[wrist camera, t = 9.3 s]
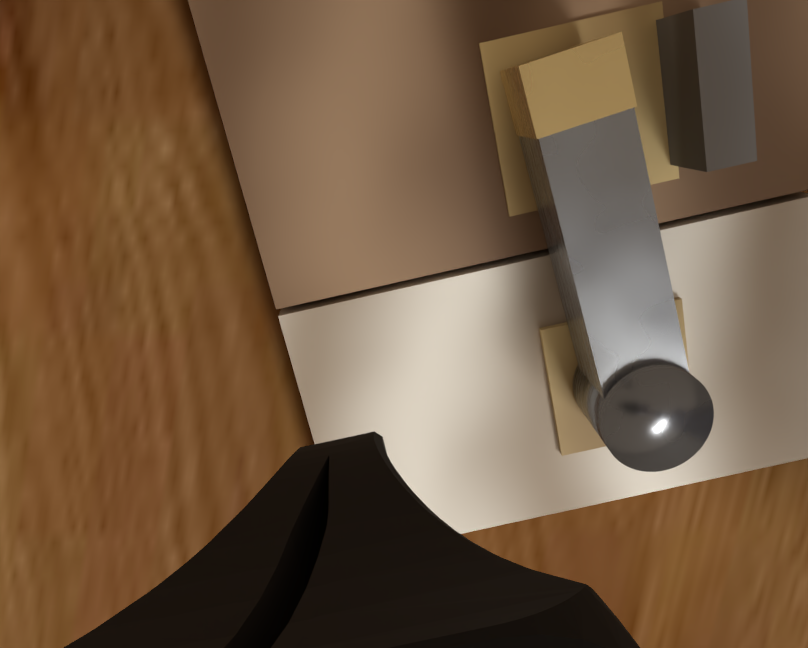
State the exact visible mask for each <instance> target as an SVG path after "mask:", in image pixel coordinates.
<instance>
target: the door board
mask: <svg viewBox="0 0 808 648" xmlns="http://www.w3.org/2000/svg"><path fill="white" fill-rule="evenodd" d="M188 3H189V6H190V10H191V13H192V17H193V20H194V24H195V27H196V31H197V34H198V38H199V41H200V45H201V48H202V52H203V55H204V59H205V62H206V66H207V69H208V73H209V76H210V80H211V83H212V87H213V90H214V94H215V97H216V101H217V104H218V108H219V111H220V115H221V118H222V122H223V125H224V129H225V132H226V136H227V139H228V143H229V146H230V150H231V153H232V157H233V160H234V164H235V167H236V171H237V174H238V178H239V181H240V185H241V188H242V192H243V195H244V199H245V202H246V206H247V209H248V213H249V216H250V220H251V223H252V227H253V230H254V234H255V237H256V241H257V244H258V248H259V251H260V255H261V258H262V262H263V265H264V269H265V272H266V276H267V279H268V283H269V286H270V290H271V293H272V297H273V300H274V304H275V307H276V309H280V308H281V311H280V313H279V315H278V318H279V321H280V325H281V328H282V332H283V335H284V339H285V342H286V346H287V349H288V353H289V356H290V360H291V363H292V367H293V370H294V374H295V377H296V381H297V384H298V388H299V391H300V395H301V398H302V402H303V405H304V409H305V412H306V416H307V419H308V423H309V426H310V430H311V433H312V437H313V440H314V444H319V443H323V442H328V441H332V440H337V439H342V438H346V437H351V436H355V435H360V434H365V433H369V432H374V431H375V432H376V433H378V434H379V435H381V436H382V437H383V440H384V444H385V448H386V452H387V456H388V457H389V459H390V461H391V463H392V464H393V466H394V467H395V469H396V470H397V472H398V473H399V474H400V476H401V477H402V478H403V480H404V481H405V482H406V484H407V485H408V486H409V487H410V489H411V490H412V491H413V492H414V493H415V494H416V495H417V496H418V497H419V498H420V500H421V501H422V502H423V503H424V504H425V505H426V506H427V507H428V508H429V509H430V510H431V511H432V512H434V513H435V514H436V515H437V516H438V517H439V518H440V519H441V520H443V521H444V522H445V523H446V524H448V525H449V526H450V527H452V528H453V529H454V530H455V531H457V532H458V533H460V534H462V533H467V532H471V531H476V530H480V529H485V528H489V527H494V526H499V525H503V524H508V523H512V522H517V521H522V520H526V519H531V518H535V517H540V516H544V515H549V514H554V513H558V512H563V511H567V510H572V509H577V508H581V507H586V506H590V505H595V504H599V503H604V502H609V501H613V500H618V499H622V498H627V497H632V496H636V495H641V494H645V493H650V492H654V491H659V490H664V489H668V488H673V487H677V486H682V485H687V484H691V483H696V482H700V481H705V480H709V479H714V478H719V477H723V476H728V475H732V474H737V473H742V472H746V471H751V470H755V469H760V468H764V467H769V466H774V465H778V464H783V463H787V462H792V461H797V460H801V459H806V458H808V193H803V192H801V191H805V190H808V0H188ZM619 32H622V35H623V40H624V45H625V49H626V54H627V59H628V64H629V69H630V74H631V78H632V83H633V88H634V93H635V98H636V103H637V107H634V108H635V113H636V118H637V123H638V127H639V132H640V137H641V142H642V147H643V152H644V156H645V161H646V166H647V171H648V176H649V180H650V185H651V190H652V195H653V200H654V204H655V209H656V214H657V219H658V224H659V228H660V233H661V238H662V243H663V248H664V252H665V257H666V262H667V267H668V272H669V276H670V281H671V286H672V291H673V296H674V301H675V305H676V310H677V315H678V320H679V325H680V329H681V334H682V339H683V344H684V349H685V353H686V358H687V363H688V368H689V373H690V374H691V375H693V376H694V377H695V378H696V379H697V380H699V381H700V382H701V383H702V384H703V385H704V387H705V388H706V389H707V391H708V392H709V395H710V397H711V399H712V403H713V408H714V419H713V425H712V429H711V432H710V434H709V436H708V438H707V440H706V442H705V443H704V445H703V446H702V447H701V449H700V450H699V451H698V452H697V453H696V454H695V455H694V456H692V457H691V458H690V459H689V460H687V461H686V462H684V463H683V464H681V465H679V466H677V467H674V468H671V469H668V470H664V471H658V472H645V471H639V470H635V469H632V468H629V467H627V466H625V465H624V464H622V463H620V462H619V461H618V460H617V459H616V458H615V457H614V456H613V455H612V454H611V452H610V451H609V449H608V448H607V446H606V445H605V444H604V442H603V441H602V439H601V438H600V436H599V435H598V434H597V432H596V431H595V429H594V428H593V426H592V425H591V424H590V422H589V421H588V419H587V418H586V416H585V415H584V414H583V412H582V411H581V409H580V408H579V406H578V405H577V403H576V400H575V397H574V393H573V377H574V373H575V370H576V367H577V365H578V362H577V358H576V355H575V351H574V347H573V343H572V339H571V335H570V331H569V328H568V324H567V320H566V316H565V312H564V308H563V304H562V301H561V297H560V293H559V289H558V285H557V281H556V278H555V274H554V270H553V266H552V262H551V258H550V254H549V251H548V247H547V243H546V239H545V235H544V231H543V227H542V224H541V220H540V216H539V212H538V208H537V204H536V200H535V197H534V193H533V189H532V185H531V181H530V177H529V174H528V170H527V166H526V162H525V158H524V154H523V150H522V147H521V143H520V139H519V136H518V135H516V133H515V129H514V125H513V121H512V118H511V114H510V110H509V106H508V102H507V98H506V95H505V91H504V87H503V83H502V79H501V75H500V72H499V71H501V70H504V69H507V68H510V67H513V66H516V65H519V64H522V63H525V62H528V61H531V60H534V59H537V58H540V57H543V56H546V55H549V54H552V53H555V52H558V51H561V50H564V49H567V48H570V47H573V46H576V45H579V44H582V43H585V42H588V41H591V40H595V39H598V38H601V37H605V36H608V35H612V34H615V33H619Z"/></svg>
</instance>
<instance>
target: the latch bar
mask: <svg viewBox="0 0 808 648" xmlns="http://www.w3.org/2000/svg"><path fill="white" fill-rule="evenodd" d="M499 72H500V75H501V79H502V83H503V87H504V91H505V95H506V98H507V102H508V106H509V110H510V114H511V118H512V121H513V125H514V129H515V133H516V135H518V136H519V139H520V143H521V147H522V150H523V154H524V158H525V162H526V166H527V170H528V174H529V177H530V181H531V185H532V189H533V193H534V197H535V200H536V204H537V208H538V212H539V216H540V220H541V224H542V227H543V231H544V235H545V239H546V243H547V247H548V251H549V254H550V258H551V262H552V266H553V270H554V274H555V278H556V281H557V285H558V289H559V293H560V297H561V301H562V304H563V308H564V312H565V316H566V320H567V324H568V328H569V331H570V335H571V339H572V343H573V347H574V351H575V355H576V358H577V362H578V365H577V367H576V370H575V373H574V377H573V393H574V397H575V400H576V403H577V405H578V406H579V408H580V409H581V411H582V412H583V414H584V415H585V416H586V418H587V419H588V421H589V422H590V424H591V425H592V426H593V428H594V429H595V431H596V432H597V434H598V435H599V436H600V438H601V439H602V441H603V442H604V444H605V445H606V446H607V448H608V449H609V451H610V452H611V454H612V455H613V456H614V457H615V458H616V459H617V460H618V461H619V462H620V463H622V464H624V465H625V466H627V467H629V468H632V469H635V470H639V471H645V472H658V471H664V470H668V469H671V468H674V467H677V466H679V465H681V464H683V463H684V462H686V461H687V460H689V459H690V458H691V457H692V456H694V455H695V454H696V453H697V452H698V451H699V450H700V449H701V447H702V446H703V445H704V443H705V442H706V440H707V438H708V436H709V434H710V432H711V429H712V425H713V419H714V408H713V403H712V399H711V397H710V395H709V392H708V391H707V389H706V388H705V387H704V385H703V384H702V383H701V382H700V381H699V380H697V379H696V378H695V377H694V376H693V375H691V374H690V373H689V368H688V363H687V358H686V353H685V349H684V344H683V339H682V334H681V329H680V325H679V320H678V315H677V310H676V305H675V301H674V296H673V291H672V286H671V281H670V276H669V272H668V267H667V262H666V257H665V252H664V248H663V243H662V238H661V233H660V228H659V224H658V219H657V214H656V209H655V204H654V200H653V195H652V190H651V185H650V180H649V176H648V171H647V166H646V161H645V156H644V152H643V147H642V142H641V137H640V132H639V127H638V123H637V118H636V113H635V108H634V107H637V103H636V98H635V93H634V88H633V83H632V78H631V74H630V69H629V64H628V59H627V54H626V49H625V45H624V40H623V35H622V32H619V33H615V34H612V35H608V36H605V37H601V38H598V39H595V40H591V41H588V42H585V43H582V44H579V45H576V46H573V47H570V48H567V49H564V50H561V51H558V52H555V53H552V54H549V55H546V56H543V57H540V58H537V59H534V60H531V61H528V62H525V63H522V64H519V65H516V66H513V67H510V68H507V69H504V70H501V71H499Z"/></svg>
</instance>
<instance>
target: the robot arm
mask: <svg viewBox="0 0 808 648" xmlns="http://www.w3.org/2000/svg"><path fill="white" fill-rule="evenodd" d="M64 648H640V647H639V646H638V644H637V643H636V642H635V640H634V639H633V638H632V636H631V635H630V634H629V632H628V631H627V630H626V629H625V627H624V626H623V625H622V623H621V622H620V621H619V619H618V618H617V617H616V616H615V615H614V613H613V612H612V611H611V610H610V609H609V608H608V606H607V605H606V604H605V603H604V602H603V600H602V599H601V598H600V597H599V596H598V595H597V593H596V592H595V591H594V590H593V589H592V588H591V587H589V586H588V585H586V584H583V583H579V582H575V581H571V580H568V579H564V578H560V577H557V576H553V575H549V574H545V573H542V572H538V571H534V570H531V569H529V568H526V567H523V566H521V565H518V564H516V563H513V562H511V561H508V560H506V559H504V558H501V557H499V556H497V555H495V554H493V553H491V552H489V551H487V550H486V549H484V548H482V547H480V546H478V545H477V544H475V543H473V542H471V541H470V540H468V539H467V538H465V537H464V536H463V535H461V534H460V533H458V532H457V531H455V530H454V529H453V528H452V527H450V526H449V525H448V524H446V523H445V522H444V521H443V520H441V519H440V518H439V517H438V516H437V515H436V514H435V513H434V512H432V511H431V510H430V509H429V508H428V507H427V506H426V505H425V504H424V503H423V502H422V501H421V500H420V498H419V497H418V496H417V495H416V494H415V493H414V492H413V491H412V490H411V489H410V487H409V486H408V485H407V484H406V482H405V481H404V480H403V478H402V477H401V476H400V474H399V473H398V472H397V470H396V469H395V467H394V466H393V464H392V463H391V461H390V459H389V457H388V456H387V452H386V448H385V444H384V440H383V437H382V436H381V435H379V434H378V433H376V432H375V431H374V432H369V433H365V434H360V435H355V436H351V437H346V438H342V439H337V440H332V441H328V442H323V443H319V444H314V445H309V446H305V447H300V448H299V449H298V450H297V451H296V452H295V453H294V454H293V455H292V456H291V457H290V458H289V459H288V460H287V461H286V462H285V463H284V465H283V466H282V467H281V468H280V469H279V470H278V471H277V472H276V474H275V475H274V476H273V477H272V478H271V479H270V480H269V481H268V482H267V484H266V485H265V486H264V487H263V488H262V489H261V490H260V491H259V492H258V493H257V495H256V496H255V497H254V498H253V499H252V500H251V501H250V502H249V503H248V504H247V506H246V507H245V508H244V509H243V510H242V511H241V512H240V513H239V514H238V515H237V516H236V517H235V518H234V519H233V520H232V521H230V522H229V523H228V524H227V525H226V526H225V527H224V528H223V529H222V530H221V531H220V532H219V533H218V534H217V535H216V536H215V537H214V538H213V539H212V540H211V541H210V542H209V543H208V544H207V545H206V546H205V547H204V548H203V549H202V550H200V551H199V552H198V553H197V554H196V555H195V556H194V557H192V558H191V559H190V560H189V561H188V562H187V563H185V564H184V565H183V566H182V567H180V568H179V569H178V570H177V571H175V572H174V573H173V574H172V575H170V576H169V577H168V578H167V579H165V580H164V581H163V582H162V583H160V584H159V585H158V586H156V587H155V588H154V589H152V590H151V591H150V592H148V593H147V594H145V595H144V596H143V597H141V598H140V599H138V600H137V601H135V602H134V603H132V604H131V605H129V606H128V607H126V608H125V609H123V610H122V611H120V612H119V613H118V614H116V615H115V616H113V617H112V618H110V619H109V620H107V621H106V622H104V623H103V624H101V625H100V626H98V627H97V628H95V629H94V630H92V631H91V632H89V633H87V634H86V635H84V636H83V637H81V638H79V639H77V640H76V641H74V642H72V643H71V644H69V645H67V646H66V647H64Z"/></svg>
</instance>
